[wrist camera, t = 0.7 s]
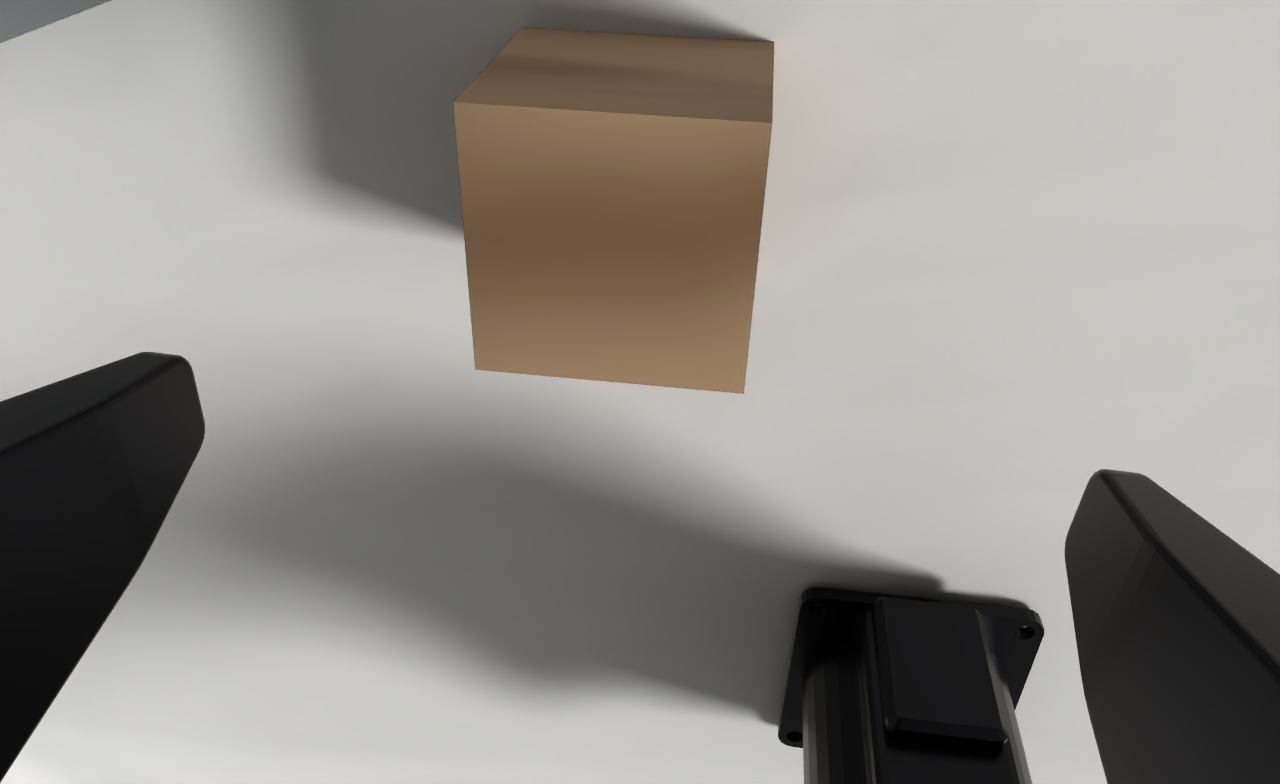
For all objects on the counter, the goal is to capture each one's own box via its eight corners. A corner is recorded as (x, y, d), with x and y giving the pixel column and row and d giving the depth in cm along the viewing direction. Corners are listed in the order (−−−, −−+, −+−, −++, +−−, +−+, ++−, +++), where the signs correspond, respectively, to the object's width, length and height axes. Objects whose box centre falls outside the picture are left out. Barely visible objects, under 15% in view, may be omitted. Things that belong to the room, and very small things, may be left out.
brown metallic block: (751, 270, 22) (743, 393, 17) (532, 253, 22) (475, 369, 18) (774, 40, 19) (772, 123, 15) (523, 26, 19) (453, 102, 15)
